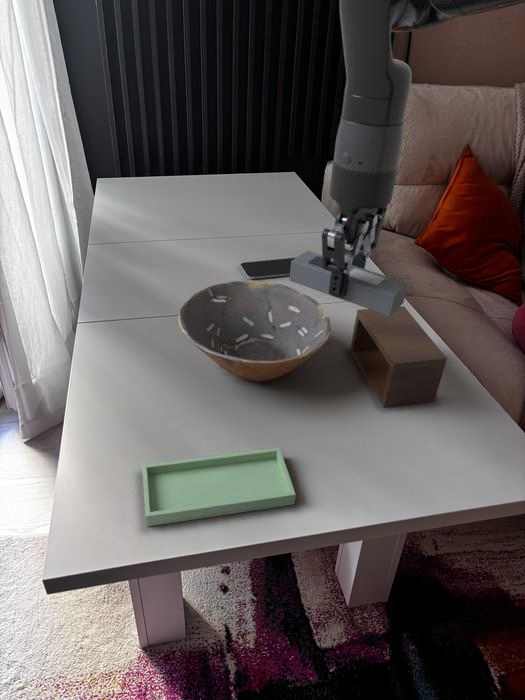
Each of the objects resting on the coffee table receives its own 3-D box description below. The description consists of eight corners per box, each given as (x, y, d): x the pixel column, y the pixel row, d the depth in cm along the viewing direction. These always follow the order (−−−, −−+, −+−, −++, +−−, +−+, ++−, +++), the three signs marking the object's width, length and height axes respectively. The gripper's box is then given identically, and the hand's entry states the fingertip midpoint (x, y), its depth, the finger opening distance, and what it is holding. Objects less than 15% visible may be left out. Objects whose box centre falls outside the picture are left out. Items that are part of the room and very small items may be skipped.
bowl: (157, 347, 100) (154, 299, 94) (270, 312, 112) (273, 268, 106) (228, 431, 83) (229, 379, 78) (352, 380, 95) (361, 332, 89)
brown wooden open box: (433, 402, 92) (447, 358, 86) (383, 407, 90) (394, 363, 85) (394, 347, 104) (404, 306, 99) (349, 351, 102) (357, 309, 97)
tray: (278, 457, 80) (279, 447, 78) (294, 504, 73) (295, 494, 72) (143, 474, 76) (142, 464, 74) (146, 526, 69) (145, 516, 68)
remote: (403, 302, 73) (408, 281, 71) (390, 316, 70) (395, 295, 68) (305, 269, 79) (307, 249, 77) (289, 280, 76) (291, 259, 74)
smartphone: (311, 270, 126) (248, 277, 122) (310, 273, 127) (248, 280, 122) (299, 257, 132) (239, 262, 127) (299, 259, 132) (239, 265, 128)
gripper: (369, 182, 58) (346, 320, 67) (418, 153, 67) (392, 277, 77) (307, 166, 61) (294, 300, 71) (363, 141, 71) (344, 262, 81)
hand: (345, 288), depth 74 cm, fingers closed on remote, 4 cm apart
